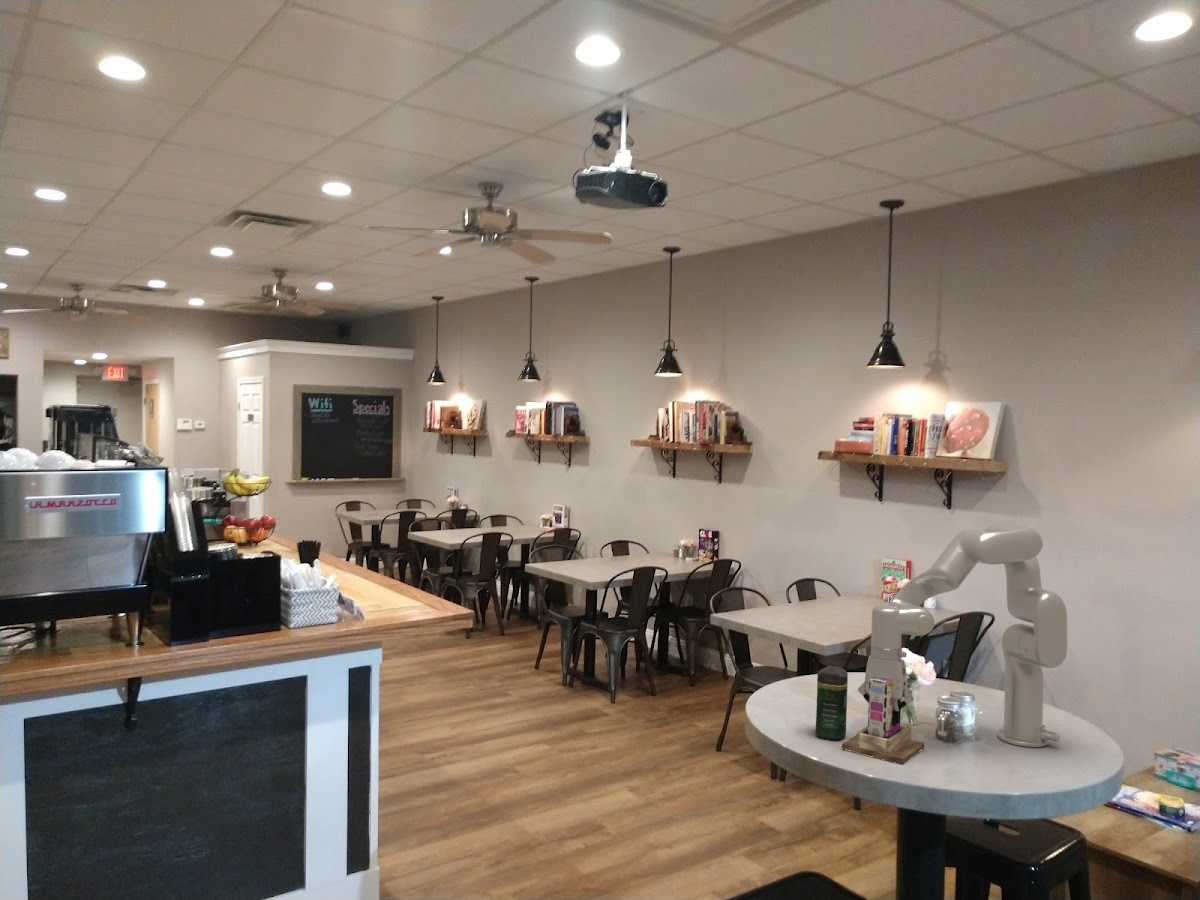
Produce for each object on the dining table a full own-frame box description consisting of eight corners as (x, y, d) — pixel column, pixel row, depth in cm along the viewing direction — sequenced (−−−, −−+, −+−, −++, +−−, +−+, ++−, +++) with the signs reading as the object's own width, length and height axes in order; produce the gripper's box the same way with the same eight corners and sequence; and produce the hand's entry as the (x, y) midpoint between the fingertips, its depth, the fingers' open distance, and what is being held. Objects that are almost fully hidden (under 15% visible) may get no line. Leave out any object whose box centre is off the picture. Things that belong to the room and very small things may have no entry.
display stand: (924, 748, 230) (924, 729, 230) (902, 764, 217) (903, 744, 217) (865, 735, 240) (866, 716, 240) (841, 749, 227) (842, 730, 227)
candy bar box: (885, 747, 223) (886, 683, 223) (866, 742, 226) (867, 679, 226) (901, 736, 231) (902, 674, 231) (883, 732, 234) (884, 671, 234)
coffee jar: (842, 743, 233) (844, 673, 233) (812, 738, 236) (814, 669, 236) (848, 732, 241) (850, 666, 241) (820, 728, 245) (821, 662, 245)
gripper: (923, 656, 226) (922, 726, 226) (860, 646, 237) (859, 712, 237) (913, 661, 220) (912, 733, 220) (849, 650, 231) (847, 719, 231)
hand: (884, 721), depth 229 cm, fingers closed on candy bar box, 4 cm apart
